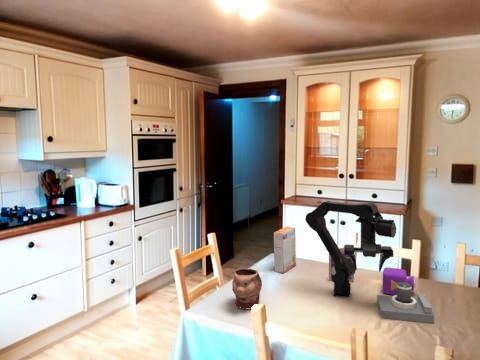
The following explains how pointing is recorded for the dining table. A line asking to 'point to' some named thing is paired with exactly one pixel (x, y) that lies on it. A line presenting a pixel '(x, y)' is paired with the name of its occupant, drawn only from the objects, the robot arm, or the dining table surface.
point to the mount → (405, 309)
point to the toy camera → (395, 280)
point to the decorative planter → (246, 287)
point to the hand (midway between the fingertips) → (367, 270)
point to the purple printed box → (331, 266)
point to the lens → (404, 292)
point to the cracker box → (284, 249)
